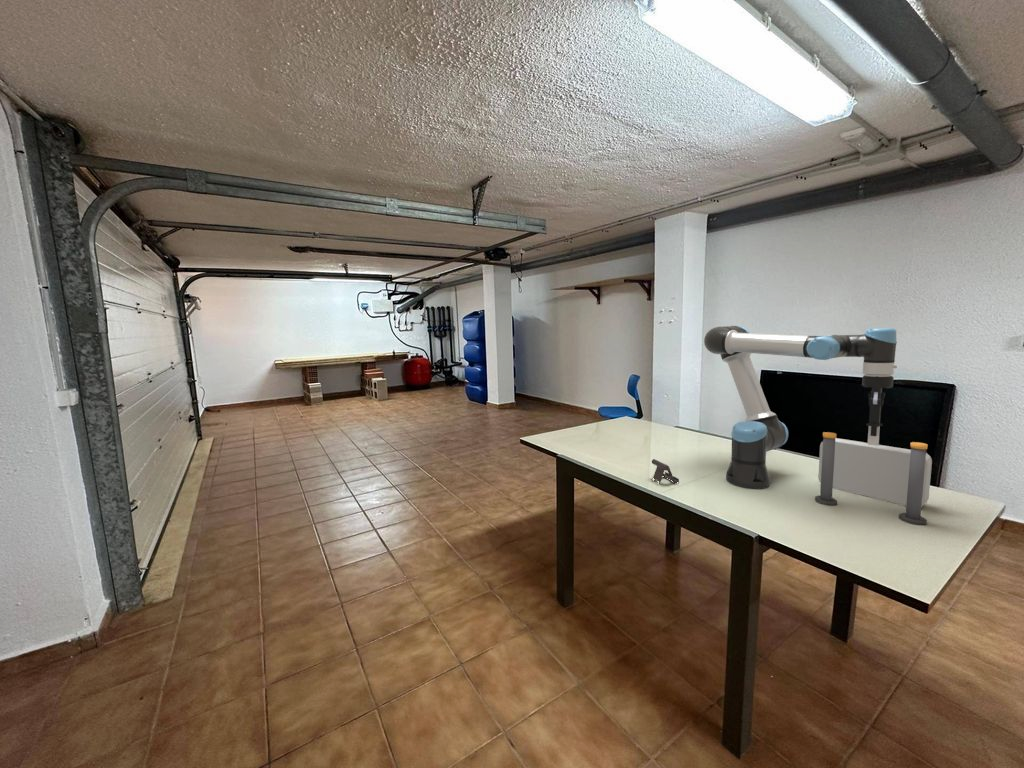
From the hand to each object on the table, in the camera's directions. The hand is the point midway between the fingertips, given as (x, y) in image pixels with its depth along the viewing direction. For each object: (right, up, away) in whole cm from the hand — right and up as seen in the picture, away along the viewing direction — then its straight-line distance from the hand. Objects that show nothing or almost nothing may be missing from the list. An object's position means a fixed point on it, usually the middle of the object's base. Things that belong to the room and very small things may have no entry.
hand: (873, 444), depth 132 cm
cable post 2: (+1, -21, -12) cm, 25 cm away
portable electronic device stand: (-60, -20, +28) cm, 69 cm away
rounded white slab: (+6, -19, +8) cm, 21 cm away
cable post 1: (-14, -20, +3) cm, 25 cm away
